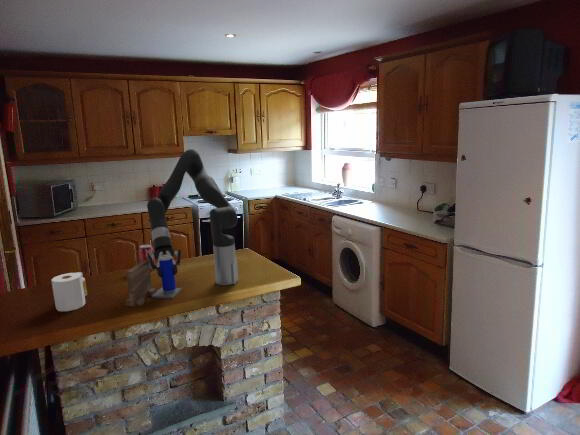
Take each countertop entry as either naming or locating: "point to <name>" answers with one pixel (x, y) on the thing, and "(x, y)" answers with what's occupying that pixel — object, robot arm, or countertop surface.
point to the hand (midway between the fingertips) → (168, 275)
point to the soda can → (146, 253)
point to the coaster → (165, 293)
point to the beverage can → (167, 273)
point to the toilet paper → (68, 291)
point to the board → (139, 284)
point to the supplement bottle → (83, 284)
